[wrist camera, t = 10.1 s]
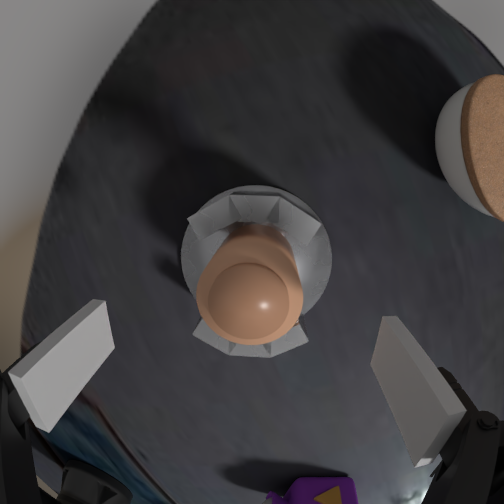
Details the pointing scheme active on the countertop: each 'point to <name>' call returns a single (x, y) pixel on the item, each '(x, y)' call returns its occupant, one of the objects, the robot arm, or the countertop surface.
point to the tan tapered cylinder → (251, 287)
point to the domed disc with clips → (269, 214)
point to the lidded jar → (474, 144)
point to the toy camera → (317, 491)
